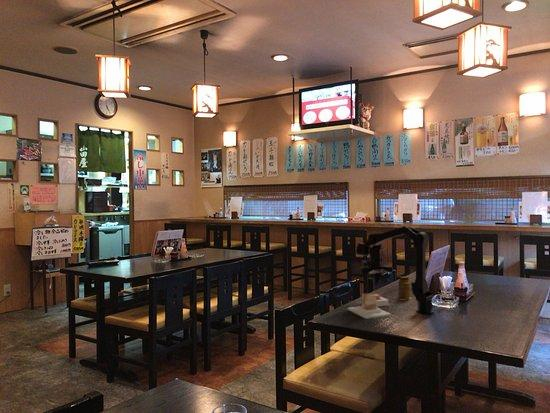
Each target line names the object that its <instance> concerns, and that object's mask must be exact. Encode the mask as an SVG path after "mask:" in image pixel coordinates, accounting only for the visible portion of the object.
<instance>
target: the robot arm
mask: <svg viewBox="0 0 550 413" xmlns="http://www.w3.org/2000/svg"><path fill="white" fill-rule="evenodd" d="M403 235H404V236H407V237H408V238H409V239H410V240H412V244H413V247H414V249H415V280H414V281H412V282H411V285H410V286H411V289H410V291H412V295H413V296H414V297H415V300H416V302H417V309H416V310H415V313H419V314H421V315H429V314H430V315H431V314H434V313H435V312H434V311H432V300H433V298H434V294H433V293H432V292H431V291H430V289H429V284H428V281H427V280H426V259H427V258H426V253H427V252H426V251H427V248H428V245H429V242H430V236H429V235H428V234H427V232H424V231H420V230H418V229H416V228H414V227H412V226H410V225H403V226H401V227H399V228H396V229H392V230H389V231H384V232H376V233H375V232H374V233H370V234H369V235H368V237H367V240H366V241H365V243H363V242H358V243H357V246H356V249H355V254H356V255H357V256H362V257H368V256H369V257H368V259H367V261H366V259H363V260H361V261H360V262H361V263H360V264H361V267H358V268H357V273H359V274H361V275H369V276H370V279H371V281H372V283H373V286H375V287H376V286H377V285H378V283H379V282H380V279H381V277H382V276H383V275H384V272H385V271H386V272H387V273H393V272H394V268H393V266H391V265H382V264H381V262H382V261H383V259H382V258H381V253H382V252H381V250H382V249H385V246H383V245H382V243H383V242H385V241H387V240H388V239H391V238H392V239H393V238H396V237H399V236H403ZM376 244H377V245H376Z"/></svg>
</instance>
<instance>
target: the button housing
mask: <svg viewBox="0 0 550 413" xmlns="http://www.w3.org/2000/svg"><path fill="white" fill-rule="evenodd" d="M389 304H390V302H389V299H388V298H385V297H382V296H380V300H376V307H378V308H380V307H386V306H387V307H388V306H389Z"/></svg>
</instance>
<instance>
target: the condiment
mask: <svg viewBox="0 0 550 413" xmlns="http://www.w3.org/2000/svg"><path fill="white" fill-rule="evenodd" d="M410 286H411V285H410V278H409V276H404V275H403V276H399V280H398V296H393V297H392V299H393V298H394V299H397V300H401V301H406V300H411V299H413V297H410V295H411V294H410V293H411V292H410V291H411V289H410V288H411V287H410Z"/></svg>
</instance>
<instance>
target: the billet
mask: <svg viewBox="0 0 550 413" xmlns="http://www.w3.org/2000/svg"><path fill="white" fill-rule="evenodd" d="M374 294H375V293H371V292H370V293H361V306H362V308H364V309H366V310H371V309H376V295H374Z"/></svg>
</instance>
